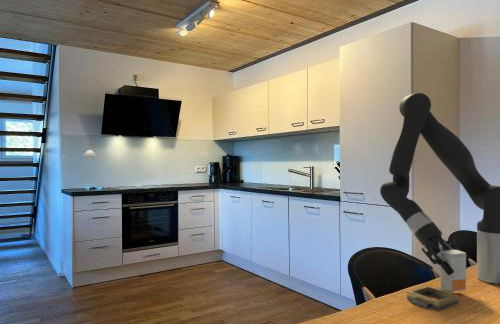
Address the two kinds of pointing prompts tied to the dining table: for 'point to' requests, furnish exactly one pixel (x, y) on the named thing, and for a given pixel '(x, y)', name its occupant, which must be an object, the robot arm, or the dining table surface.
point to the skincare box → (459, 266)
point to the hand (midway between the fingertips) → (458, 271)
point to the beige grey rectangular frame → (421, 300)
